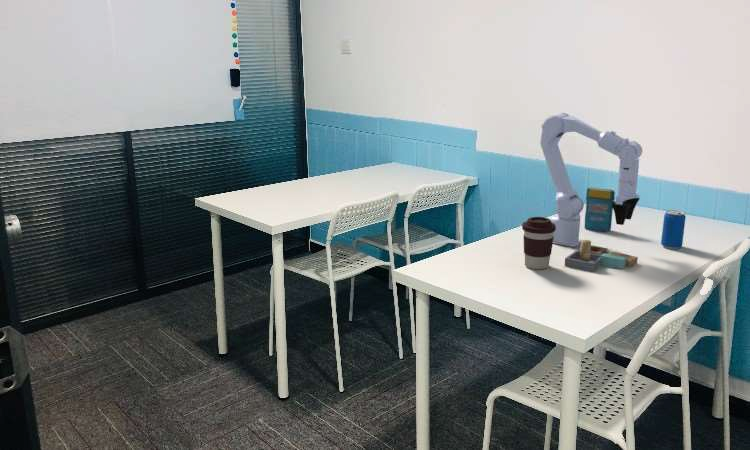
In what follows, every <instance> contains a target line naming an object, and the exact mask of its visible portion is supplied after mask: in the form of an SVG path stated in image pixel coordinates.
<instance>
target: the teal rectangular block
mask: <svg viewBox="0 0 750 450" xmlns="http://www.w3.org/2000/svg"><path fill="white" fill-rule="evenodd" d="M600 257H602V262H601V266H603V267H604V266H605V267H609V268H613V269H620V270H623V269H625V268H627V267H626V258H627V257H622V256H617V255H611V254H609V253H607V254H606V253H603V254H602V255H601V256H600Z"/></svg>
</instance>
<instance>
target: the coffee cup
mask: <svg viewBox="0 0 750 450" xmlns="http://www.w3.org/2000/svg"><path fill="white" fill-rule="evenodd" d="M521 227H522V230H523V254H524V266H525V267H526V268H529V269H530V270H531V269H532V270H545V269H548V268H549V266H550V261H551V255H552V249H553V244H554V243H553V232H554V231H555V230H556V225H555V224H554V223H552V222H551V219H550V218H548V217H545V216H544V217H543V216H530V217H529V218H527V221H523V223H522V225H521Z"/></svg>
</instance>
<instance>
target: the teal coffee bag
mask: <svg viewBox="0 0 750 450" xmlns="http://www.w3.org/2000/svg"><path fill="white" fill-rule="evenodd" d="M585 197H586V199H585V201H586V205H585V215H584V229H585V230H589V231H596V232H602V233H603V232H604V233H607V232H610V231H612V230H611V229H612V219H613V212H614V210H613V207H612V205H611V203H612V202H615V200H616V192H615V190H614V189H608V188H607V189H606V188H597V187H588V188H587V189H586V194H585Z"/></svg>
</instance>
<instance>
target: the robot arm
mask: <svg viewBox="0 0 750 450" xmlns="http://www.w3.org/2000/svg"><path fill="white" fill-rule="evenodd" d="M541 130H542V131H541V135H540V136H541V137H540V142H539V144H540V147H541V150H542V153H543V156H544V159H545V162H546V165H547V168H548V170H549V171H548V172H549V174H550V176H551V181H552V182H553V186H554V189H555V191H556V196H555V203H556V208H555V212H556V214H557V215H553V216H552V217H551V219H550V220H551V222H552V223H554V224H555V225H556V230H555V231H554V232H553V244H555V245H561V246H566V247H572V248H576V247H577V246H578V245H581V240H582V239H580V230H581V229H580V227H581V215H580V214H581V212H582V211H583V209H584V207H585V204H584V201H583V199H582V198H581V197H580V196H579V194H578V191H576V190H575V188H573V185H572V182H571V180H570V176H569V174H568V171H567V168H566V167H567V166H566V164H565V161H564V159H563V156H562V153H561V150H560V147H559V142H560V141H561V139H562V137H563V136H564V135H565V134H566V133H572V132H575V133H577V134H579V135H581V136H584V137H586V138H588V139H591V140H593V141H595V142H597V146H598V148H600V149H602V150H604V151H606V152H609V153H610V154H612V155H614V156H617V157H618V159H619V167H618V177H617V178H618V179H617V188H616V192H615V201H614V202H612V203H611V205H612V207H613V212H614V217H615V218H614V219H615V223H616V225H618V226H619V225H620V226H624V225H625V221H626V220H630V221H631V219H632V217H633V214H634V211H635V208H636V206H637V204H638V203H639V201H640V197H641V195H640V194H637V188H638V186H637V185H638V178H639V167H640V166H639V163H640V157H641V156H642V153H643V148H642V145H641V144H640V143H638V142H637V141H635V140H632V141H630V139H629V138H624V137H622V136H619V135H618V134H617V132H616V131H614V130H611V131H610V130H606V131H600V130H599V129H598V128H596V127H593V126H591V125H589V124H587V123H586V122H584V121H582V120H580V119H578V118H577V117H576V116H575V115H570V114H568V113H566V112H561V113H558V114H555V115H550V116H548V117H546V118H545V120H544V121H543V123H542V124H541Z"/></svg>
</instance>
